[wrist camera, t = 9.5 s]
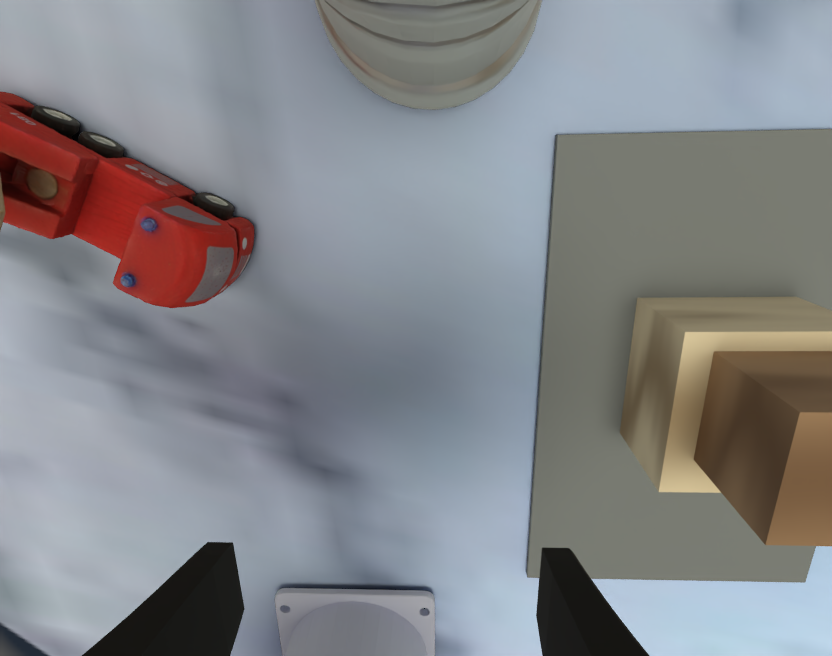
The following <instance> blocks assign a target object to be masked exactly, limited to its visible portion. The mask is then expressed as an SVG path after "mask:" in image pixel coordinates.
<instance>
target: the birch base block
mask: <svg viewBox="0 0 832 656" xmlns="http://www.w3.org/2000/svg"><path fill="white" fill-rule="evenodd" d="M714 351H832V311H831V310H829V309H826V308H824V307H821V306H819V305H816V304H813V303H811V302H808V301H806V300H803V299H801V298H798V297H681V298H637V304H636V312H635V319H634V327H633V335H632V342H631V350H630V358H629V366H628V373H627V381H626V389H625V396H624V404H623V412H622V420H621V427H620V434H621V435H622V437H623V438H624V440H625V442H626V443H627V445H628V446H629V448H630V449H631V451H632V452H633V454H634V455H635V457H636V458H637V460H638V461H639V463H640V464H641V466H642V467H643V469H644V471H645V472H646V474H647V475H648V477H649V478H650V480H651V481H652V483H653V484H654V486H655V487H656V489H657V490H658V492H699V493H721V492H720V491H719V489H718V488H717V487H716V486H715V485H714V483H713V482H712V481H711V480H710V479H709V477H708V476H707V475H706V474H705V473H704V471H703V470H702V469H701V468H700V467H699V466H698V464H697V463H696V462H695V461H694V454H695V449H696V444H697V438H698V433H699V428H700V422H701V417H702V412H703V407H704V401H705V396H706V391H707V385H708V380H709V375H710V369H711V364H712V359H713V354H714Z"/></svg>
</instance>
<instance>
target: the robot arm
mask: <svg viewBox="0 0 832 656" xmlns="http://www.w3.org/2000/svg"><path fill="white" fill-rule="evenodd" d="M285 605H287V606H285ZM275 607H276V614H277V621H278V628H279V635H280V642H281V649H282V656H435V598H434V595H433V594H432V593H430V592H429V591H418V590H366V589H314V588H282V589H280V590H278V591H277V593H276V596H275ZM422 608H427V609H422ZM243 612H244V604H243V598H242V592H241V587H240V581H239V575H238V569H237V564H236V558H235V552H234V546H233V543H223V542H207V543H206V544H205V545H204V546H203V547H202V548H201V549H200V550H199V551H198V552H197V553H195V554H194V555H193V556H192V557H191V558H190V559H189V560H188V561H187V562H186V563H185V564H184V565H183V566H182V567H181V568H179V569H178V570H177V571H176V572H175V573H174V574H173V575H172V576H171V577H170V578H169V579H168V580H167V581H166V582H165V583H164V584H163V585H161V586H160V587H159V588H158V589H157V590H156V591H155V592H154V593H153V594H152V595H151V596H150V597H149V598H147V599H146V600H145V601H144V602H143V603H142V604H141V605H140V606H139V607H138V608H137V609H135V610H134V611H133V612H132V613H131V614H130V615H129V616H128V617H127V618H126V619H124V620H123V621H122V622H121V623H120V624H119V625H117V626H116V627H115V628H114V629H113V630H112V631H110V632H109V633H108V634H107V635H106V636H105V637H103V638H102V639H101V640H100V641H99V642H98V643H96V644H95V645H94V646H93V647H92V648H90V649H89V650H88V651H87V652H86V653H85V654H83V655H82V656H230V654H231V651H232V648H233V645H234V642H235V639H236V635H237V632H238V629H239V625H240V622H241V619H242V615H243ZM536 616H537V622H538V629H539V636H540V642H541V648H542V654H543V656H649V655H648V653H647V652H646V651H645V650H644V649H643V647H642V646H641V645H640V644H639V642H638V641H637V640H636V639H635V637H634V636H633V635H632V634H631V632H630V631H629V630H628V628H627V627H626V626H625V625H624V623H623V622H622V621H621V619H620V618H619V617H618V615H617V614H616V613H615V612H614V610H613V609H612V608H611V606H610V605H609V604H608V602H607V601H606V599H605V598H604V597H603V595H602V594H601V592H600V591H599V590H598V588H597V587H596V585H595V584H594V583H593V581H592V580H591V578H590V577H589V575H588V574H587V572H586V571H585V569H584V568H583V566H582V565H581V563H580V562H579V560H578V559H577V557H576V556H575V554H574V553H573V551H572V550H571V549H569V548H542V552H541V565H540V577H539V590H538V602H537V615H536Z"/></svg>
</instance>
